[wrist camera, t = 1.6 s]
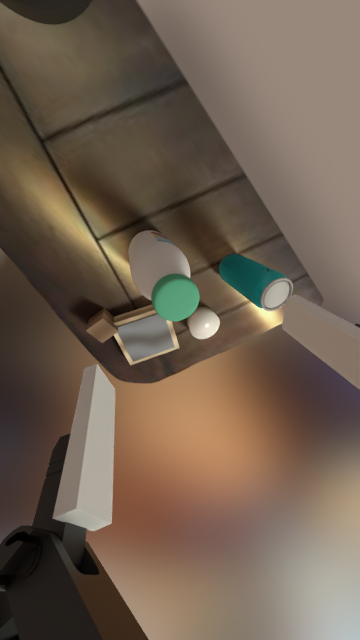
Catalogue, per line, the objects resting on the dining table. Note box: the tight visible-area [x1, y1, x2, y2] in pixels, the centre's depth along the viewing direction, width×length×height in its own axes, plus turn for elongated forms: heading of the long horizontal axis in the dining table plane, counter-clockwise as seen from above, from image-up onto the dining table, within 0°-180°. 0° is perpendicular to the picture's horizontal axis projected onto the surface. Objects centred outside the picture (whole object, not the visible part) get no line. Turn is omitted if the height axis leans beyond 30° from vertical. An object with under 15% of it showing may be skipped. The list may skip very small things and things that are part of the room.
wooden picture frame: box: [114, 304, 179, 365], centre depth 41 cm, size 12×12×3 cm
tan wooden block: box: [86, 308, 118, 343], centre depth 37 cm, size 4×4×4 cm
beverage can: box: [219, 254, 293, 311], centre depth 33 cm, size 6×6×15 cm
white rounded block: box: [187, 307, 220, 339], centre depth 43 cm, size 7×7×3 cm
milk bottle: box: [128, 230, 199, 321], centre depth 26 cm, size 8×8×20 cm
